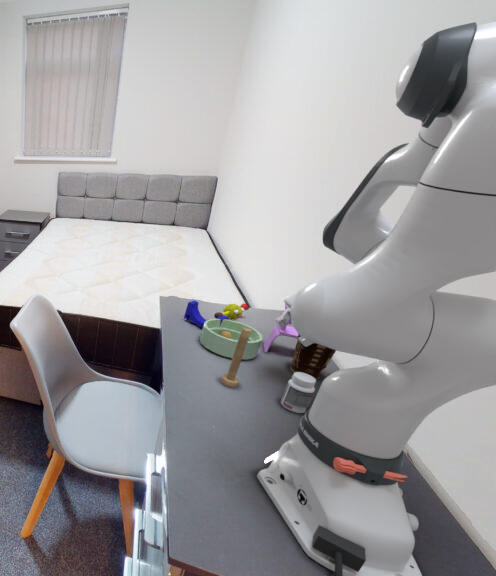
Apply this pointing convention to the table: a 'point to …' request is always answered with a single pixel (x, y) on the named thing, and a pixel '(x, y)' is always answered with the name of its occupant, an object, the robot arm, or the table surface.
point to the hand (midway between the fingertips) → (288, 332)
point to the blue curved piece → (197, 314)
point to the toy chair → (280, 333)
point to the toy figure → (232, 311)
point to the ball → (226, 334)
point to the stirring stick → (236, 360)
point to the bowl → (225, 345)
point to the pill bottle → (298, 392)
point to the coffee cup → (311, 358)
